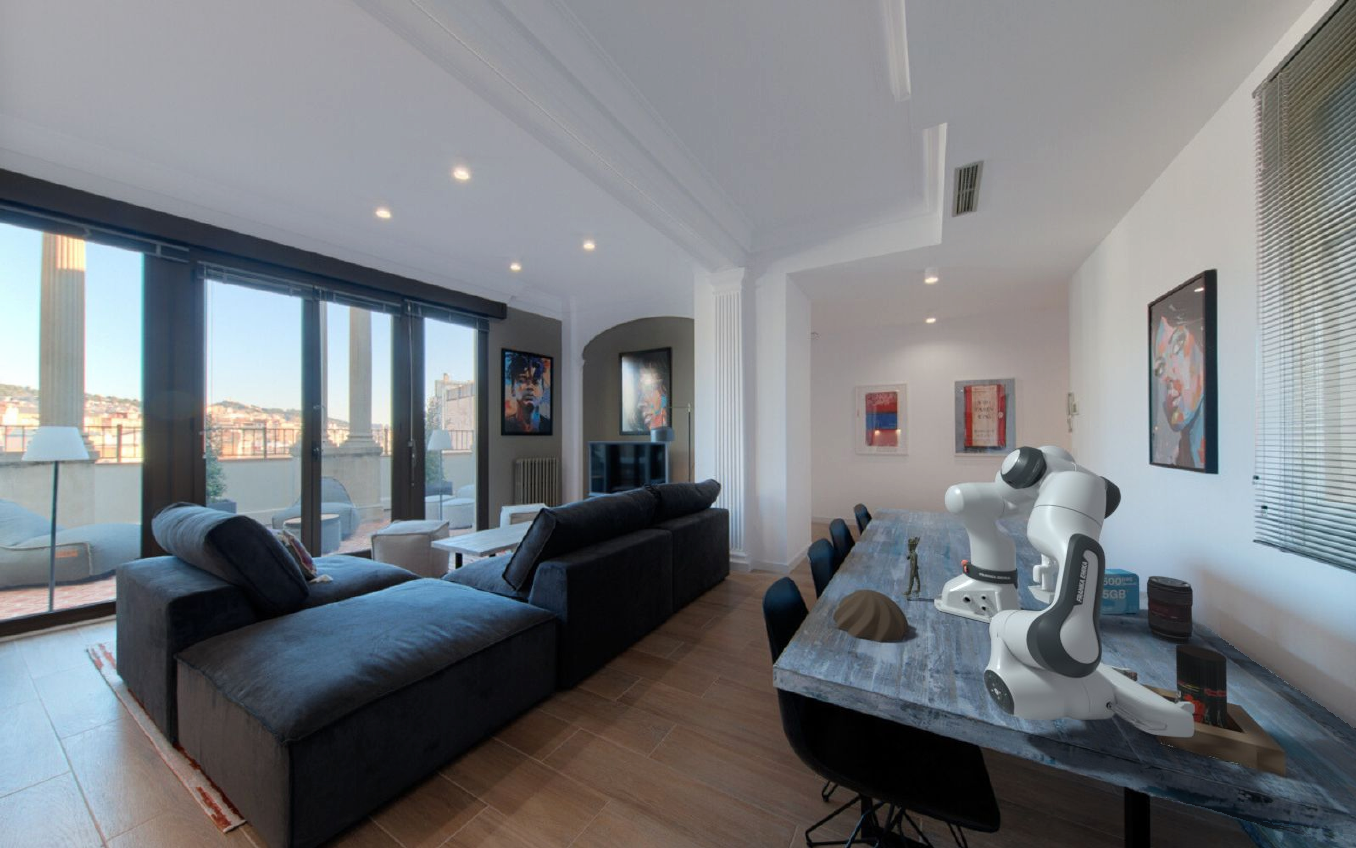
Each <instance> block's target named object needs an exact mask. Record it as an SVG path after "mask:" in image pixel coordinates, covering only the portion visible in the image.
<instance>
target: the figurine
mask: <svg viewBox="0 0 1356 848" xmlns="http://www.w3.org/2000/svg"><path fill="white" fill-rule="evenodd" d="M1040 555H1041V564H1037V565H1036V564H1035V565H1033V568H1032V577H1033V578H1032V579H1033V582H1035V583H1038V584H1037V585H1028V586H1027V587H1028V589H1029V591H1030V592H1031V595H1033V597H1034V598H1035V599H1036V600H1038V601H1040V602H1042V603H1045V604H1047V605H1051V604H1052V603H1053V600H1054V595H1055V590H1056V587H1055V586H1054V581H1055V580H1054V574H1055V573H1056V574H1058V573H1059V563H1058V562H1055V561H1053V560H1051V559H1050V558H1048V557H1046V556H1044V555H1043V554H1041V553H1040ZM1039 584H1040V585H1039Z"/></svg>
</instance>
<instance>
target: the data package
mask: <svg viewBox="0 0 1356 848" xmlns="http://www.w3.org/2000/svg"><path fill="white" fill-rule="evenodd" d="M1140 601H1141V600H1140V577H1139V575H1138V574H1137V573H1135V572H1132V571H1129V570H1126V569H1122V568H1105V577H1104V586H1103V594H1102V602H1101V611H1100V614H1102V615H1127V614H1126V613H1136V614H1138V613H1139V611H1140V610H1141V609H1140V607H1141V605H1140Z"/></svg>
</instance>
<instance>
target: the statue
mask: <svg viewBox="0 0 1356 848" xmlns="http://www.w3.org/2000/svg"><path fill="white" fill-rule="evenodd" d="M920 540H921V538H920V537H917V536H915V537H914V538H913V539H912V538H909V539H908V540H907V541H908V543H907V547H908V548H907V550H908V553H909V554H908V555H906V557H905V558H906V560H907V561H909V566H910V567H909V568H910V572H909V583H908V588H907V591H905V592H902V593H901V594H902V595H903V596H906V600H909V601H910V599H911V595H912V594H914V593H915V597H916V598H919V597H920V593H921V580H920V577H919V576H920V575H919V569H920V568H919V567H920V566H919V564H918V559H919V555H918V553H917V552H916V549H917V547H918V545H919V542H920ZM914 580H915V581H914ZM914 582H915V583H916V589H914V590H913V587H914V584H915V583H914Z"/></svg>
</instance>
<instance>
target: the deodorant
mask: <svg viewBox="0 0 1356 848" xmlns="http://www.w3.org/2000/svg"><path fill="white" fill-rule="evenodd" d="M1175 659H1176V660H1175V663H1176V669H1175V670H1176V671H1175V672H1176V692H1177V698H1179V699H1181V698H1183V699H1185V700H1187V701H1189V702H1191V703H1193V704H1194V706H1195V712H1194V713H1193V714H1192V715H1193V718H1194V722H1197V723H1202V724H1206V725H1210V726H1214V727H1218V728H1223V729H1227V703H1228V687H1227V686H1228V685H1227V684H1228V683H1227V681H1228V679H1227V675H1228V674H1227V657H1226V656H1225V655H1223V654H1221V653H1219V652H1217V651H1216V650H1215V651H1214V650H1212V649H1209V648H1206V647H1202V646H1198V645H1192V644H1183V643H1180V644H1177V645H1176V646H1175Z"/></svg>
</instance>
